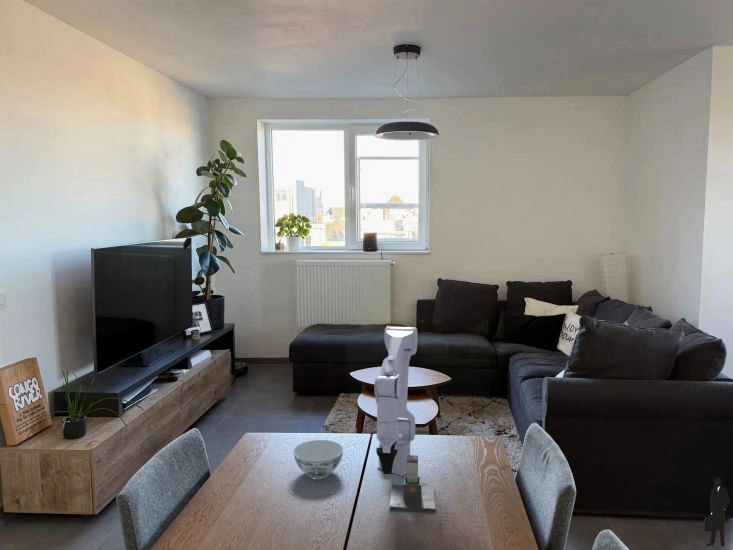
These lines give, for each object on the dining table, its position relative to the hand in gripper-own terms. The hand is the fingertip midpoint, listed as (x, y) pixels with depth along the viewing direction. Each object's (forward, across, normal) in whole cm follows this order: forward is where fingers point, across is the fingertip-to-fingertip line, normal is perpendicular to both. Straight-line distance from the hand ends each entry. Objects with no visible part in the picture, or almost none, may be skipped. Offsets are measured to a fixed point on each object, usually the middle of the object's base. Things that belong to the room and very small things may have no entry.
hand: (387, 467), depth 145 cm
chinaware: (+9, +13, +22) cm, 27 cm away
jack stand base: (+9, 0, -7) cm, 11 cm away
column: (+5, 0, -7) cm, 8 cm away
